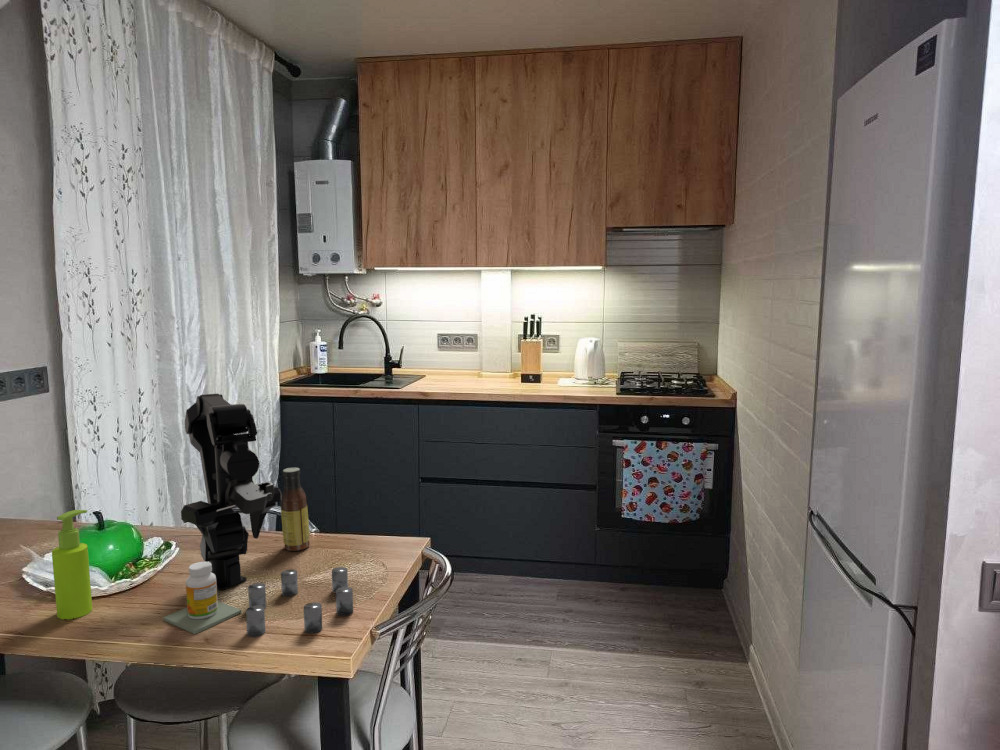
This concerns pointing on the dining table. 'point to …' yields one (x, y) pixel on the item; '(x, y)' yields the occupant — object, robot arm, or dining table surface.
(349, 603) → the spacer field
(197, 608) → the supplement bottle
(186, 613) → the mat
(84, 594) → the soap dispenser
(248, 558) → the dining table surface
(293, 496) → the sauce bottle
